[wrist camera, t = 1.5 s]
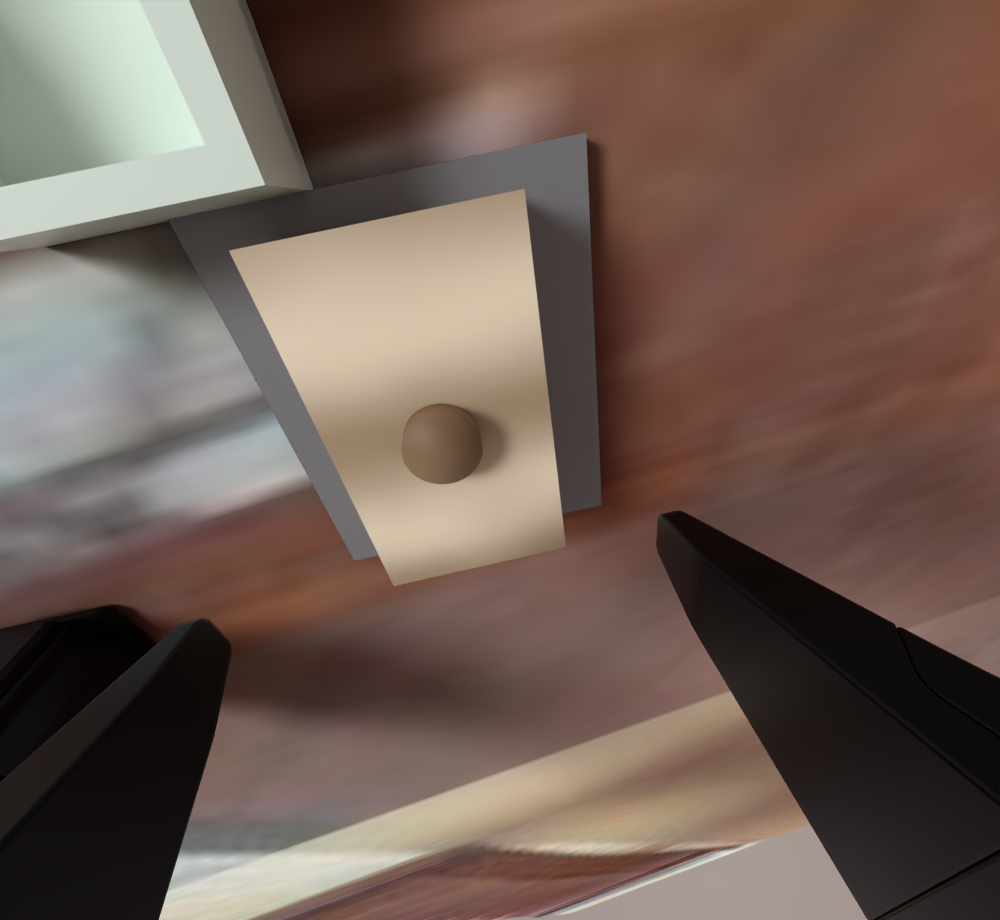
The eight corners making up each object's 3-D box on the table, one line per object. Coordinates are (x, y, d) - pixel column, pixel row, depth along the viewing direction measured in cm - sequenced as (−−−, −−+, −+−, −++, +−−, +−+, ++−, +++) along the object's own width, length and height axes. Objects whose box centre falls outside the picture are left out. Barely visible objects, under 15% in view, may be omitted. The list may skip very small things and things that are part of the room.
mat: (597, 497, 20) (601, 505, 19) (356, 551, 19) (354, 560, 19) (579, 135, 12) (586, 132, 11) (179, 218, 12) (167, 219, 11)
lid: (548, 500, 18) (571, 562, 15) (399, 533, 18) (391, 602, 15) (506, 192, 12) (531, 187, 9) (273, 241, 12) (212, 254, 9)
